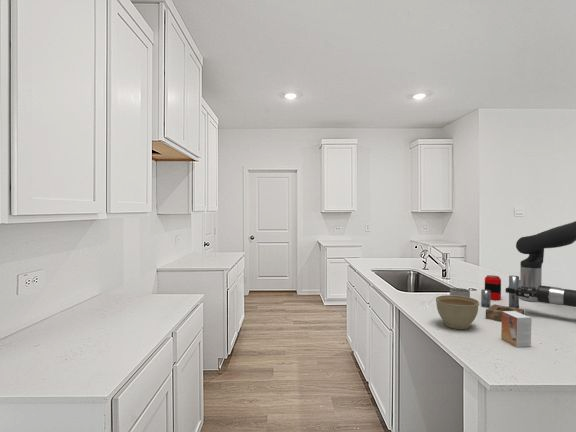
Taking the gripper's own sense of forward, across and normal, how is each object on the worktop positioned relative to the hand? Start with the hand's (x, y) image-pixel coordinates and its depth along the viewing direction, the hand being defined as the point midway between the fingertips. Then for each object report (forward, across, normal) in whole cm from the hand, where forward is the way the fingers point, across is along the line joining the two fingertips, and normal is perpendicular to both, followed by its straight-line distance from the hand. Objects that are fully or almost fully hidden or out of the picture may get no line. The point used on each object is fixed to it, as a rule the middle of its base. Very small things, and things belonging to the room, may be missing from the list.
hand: (507, 289), depth 169 cm
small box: (-13, +44, +10) cm, 47 cm away
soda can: (+11, -19, +10) cm, 24 cm away
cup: (+16, +17, +10) cm, 25 cm away
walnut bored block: (-3, +15, +10) cm, 18 cm away
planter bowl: (+9, +40, +10) cm, 42 cm away
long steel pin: (-3, 0, +10) cm, 10 cm away
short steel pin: (+9, 0, +10) cm, 14 cm away
